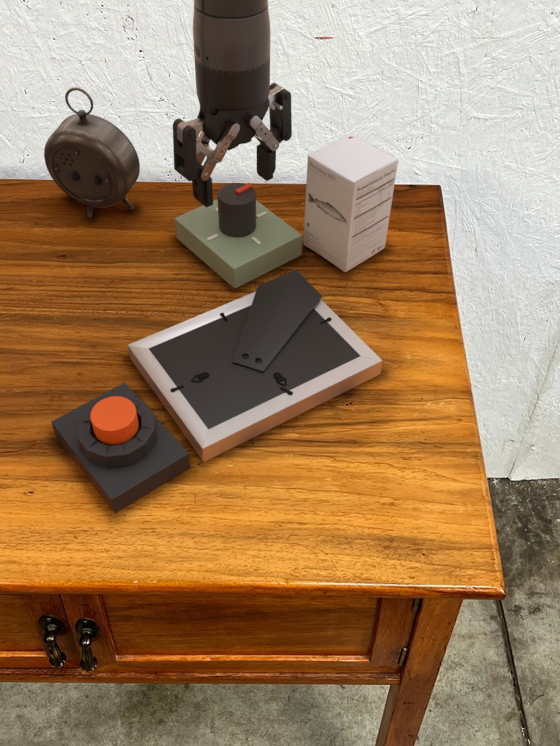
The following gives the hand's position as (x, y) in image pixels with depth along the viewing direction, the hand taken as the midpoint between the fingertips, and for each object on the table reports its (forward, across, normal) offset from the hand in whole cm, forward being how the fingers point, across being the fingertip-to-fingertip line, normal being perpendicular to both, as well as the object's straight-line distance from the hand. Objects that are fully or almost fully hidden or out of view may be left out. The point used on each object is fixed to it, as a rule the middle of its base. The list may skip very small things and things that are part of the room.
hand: (235, 189), depth 88 cm
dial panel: (+8, 0, 0) cm, 8 cm away
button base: (+8, -27, -18) cm, 34 cm away
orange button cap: (+4, -27, -18) cm, 33 cm away
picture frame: (+8, -11, -17) cm, 22 cm away
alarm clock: (+8, -9, +17) cm, 21 cm away
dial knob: (+5, 0, 0) cm, 5 cm away
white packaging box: (+8, +10, -9) cm, 15 cm away
